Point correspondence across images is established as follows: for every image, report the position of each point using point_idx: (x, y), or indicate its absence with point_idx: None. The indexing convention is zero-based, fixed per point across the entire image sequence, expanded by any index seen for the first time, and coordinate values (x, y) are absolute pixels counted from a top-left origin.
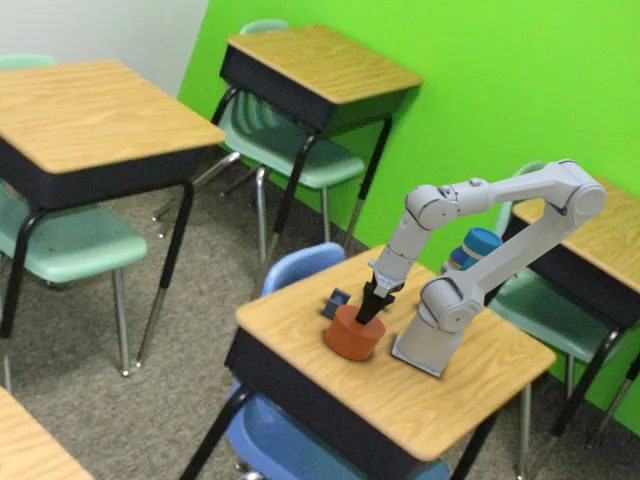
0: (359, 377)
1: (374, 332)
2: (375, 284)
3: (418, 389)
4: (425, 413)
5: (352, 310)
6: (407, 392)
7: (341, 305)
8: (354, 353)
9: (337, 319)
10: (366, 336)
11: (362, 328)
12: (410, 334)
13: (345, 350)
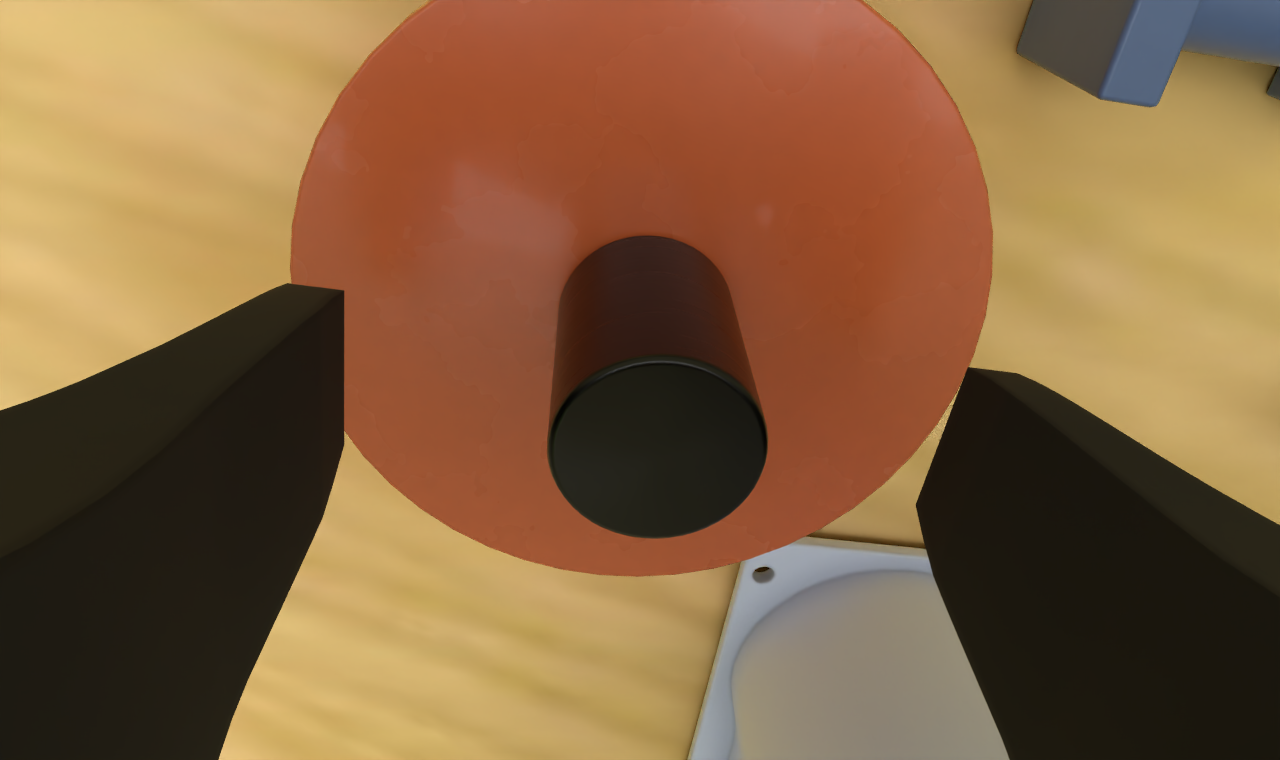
0: (195, 318)
1: (501, 474)
2: (1131, 606)
3: (445, 692)
4: None
5: (839, 189)
6: (340, 637)
7: (1139, 44)
8: None
9: None
10: None
11: (466, 341)
12: (846, 736)
13: None
